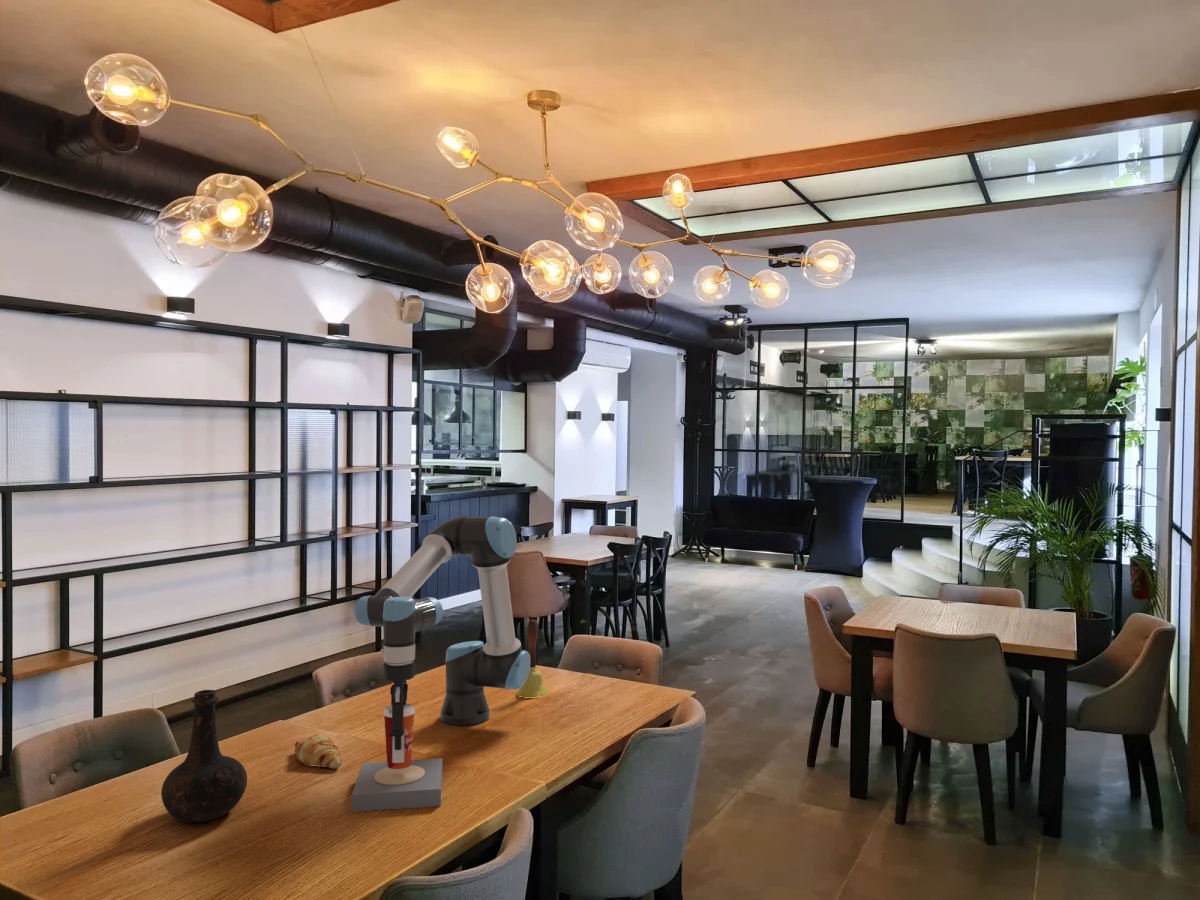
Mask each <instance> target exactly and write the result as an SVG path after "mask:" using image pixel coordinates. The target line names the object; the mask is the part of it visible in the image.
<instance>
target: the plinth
mask: <svg viewBox="0 0 1200 900" xmlns="http://www.w3.org/2000/svg"><path fill="white" fill-rule="evenodd" d="M442 787H443V758H441V757H440V758H426V759H411V765H410V766H409V767H407V768H403V769H391V768H389V767H388V765H387V761H379V762H378V761H376V762H362V763H361V766H360V769H359V772H358V775H357V777H356V781H355V783H354V787H353V790H352V793H351V813H352V812H353V813H356V812H355V811H367V812H374V811H373V810H380V811H385V810H384V809H394V810H406V808H407V809H417V808H419V809H420V808H431V807H432V808H433V807H442V806H441V805H442ZM403 808H405V809H403Z"/></svg>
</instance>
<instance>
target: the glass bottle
mask: <svg viewBox="0 0 1200 900" xmlns="http://www.w3.org/2000/svg"><path fill="white" fill-rule="evenodd" d="M216 693H217V691H216V690H214V689H203V690H202V689H201V690H198V691H196V692H195V693H194V694H193V695H194V696H193V698H194V699H192V700H190V702H191V703H193V704H194V705H193V707H194V708H193V721H192V730H191V735H190V736H191V737H190V742H189V747H188V750H187V751H188V752H187V756H186V757H185V759H184V760H183V762H182V763H180V764H178V765H177V766H175V767H174V768H173V769H172V770H171V771H170V772H169V773H168V775H167V776H166V778H165V779H164V781H163V784H162V786H161V801H162V804H163V806H164V808H165V810H166V812H168V814H169V815H171V816H172V817H173V818H174V819H176V820H178V821H180V822H184V823H188V822H199V823H205V822H208V821H209V820H210V821H212V820H216V819H218V817H219V818H221V817H223V816H225V815H226V814H228V813H229V812H231V811H232V810H233V809H234V808H235V807H236V806H237V805H238V803H239V802H240V800H241V799H242V797H243V796H244V794H245V791H246V789H247V785H248V774H247V771H246V769H245V767H244V765H243V763H241V762H240V761H239V760H237V759H235V758H234V757H231V756H227V755H223V754H222V753H221V751H220V746H219V740H218V731H217V717H216V703H217V702H218V701H219V699H220V698H219V697H218V696H216ZM204 821H205V822H204ZM210 821H209V822H210Z"/></svg>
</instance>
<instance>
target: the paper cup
mask: <svg viewBox="0 0 1200 900" xmlns="http://www.w3.org/2000/svg"><path fill="white" fill-rule="evenodd" d="M414 707H415V706H414V705H413V704H412V703H411V704H410V703H406V705H405V706H404V715H403V717H404V725H403V732H404V762H402V763H392V736H389V734H392V705H391V704H389V705H387V706H385V707H384V711H383V712H382V715H383V716H384V717H383V718H384V719H383V720H384V733H385V736H384V737H385V749H386V750H385V753H386V762H387V765H388V767H389V768H391V769H403V768H407V767H409V766H410V765H411V760H412V755H413V738H414V737H413V736H414V724H415V723H414V719H415V718H414V717H415V713H416V710H415V708H414Z"/></svg>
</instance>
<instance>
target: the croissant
mask: <svg viewBox="0 0 1200 900" xmlns="http://www.w3.org/2000/svg"><path fill="white" fill-rule="evenodd" d="M294 747H295V749H294V754H295V755H296V759H297V761H299V762H300V763H301V762H302V763H301V764H303V763H304V765H305V764H306V765H305V766H307V765H317V766H319V767H324V768H325V767H327V769H329V768H331V769H332V770H336V769H337V768H340V766H341V765H342V756H341V755H342V754H341V751H340V749H339V747H338V746H336V744H335V743H334V742H333V740H332V739H331V738H330V737H327V736H325V735H320V734H315V735H312V736H310V737H308V738H306V739H302V740H299V741H295V743H294ZM319 767H318V768H319ZM331 769H330V770H331Z"/></svg>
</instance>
